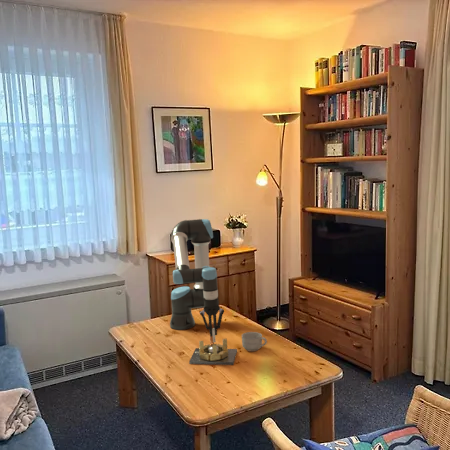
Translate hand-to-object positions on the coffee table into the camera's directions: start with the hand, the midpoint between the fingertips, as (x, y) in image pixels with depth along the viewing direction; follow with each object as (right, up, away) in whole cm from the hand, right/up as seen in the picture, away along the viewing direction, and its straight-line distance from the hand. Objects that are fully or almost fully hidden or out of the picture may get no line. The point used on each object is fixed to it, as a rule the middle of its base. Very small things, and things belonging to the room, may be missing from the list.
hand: (213, 341), depth 249 cm
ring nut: (0, -5, -5) cm, 8 cm away
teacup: (+21, -5, +3) cm, 22 cm away
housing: (0, -7, -5) cm, 9 cm away
